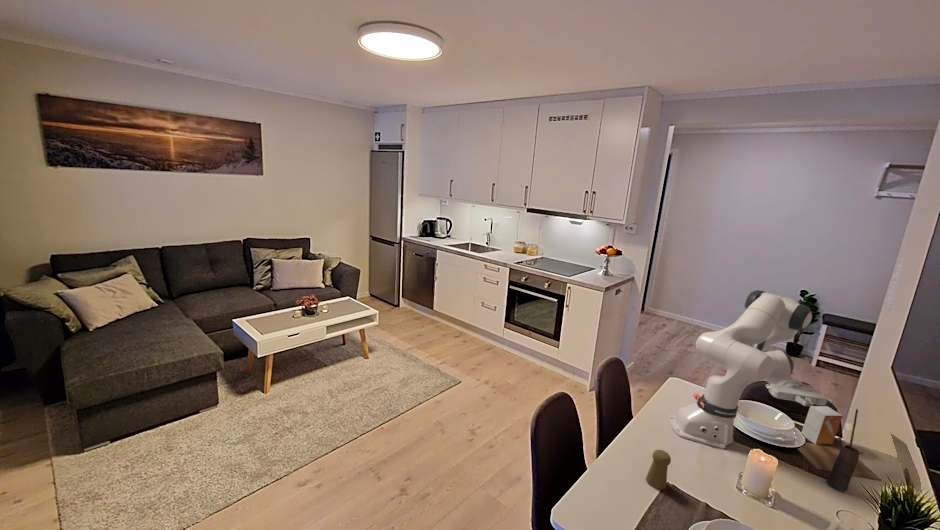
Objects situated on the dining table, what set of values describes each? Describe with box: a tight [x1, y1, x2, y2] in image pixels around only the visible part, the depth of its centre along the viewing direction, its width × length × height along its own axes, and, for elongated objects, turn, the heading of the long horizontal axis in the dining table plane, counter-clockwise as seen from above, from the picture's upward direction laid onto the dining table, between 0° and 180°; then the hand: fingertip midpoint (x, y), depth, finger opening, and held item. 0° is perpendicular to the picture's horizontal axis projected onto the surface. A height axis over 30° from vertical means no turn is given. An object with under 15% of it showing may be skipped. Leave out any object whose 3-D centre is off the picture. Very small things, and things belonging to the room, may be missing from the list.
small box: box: [800, 405, 844, 445], centre depth 156 cm, size 8×6×13 cm
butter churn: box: [826, 408, 864, 493], centre depth 129 cm, size 9×10×28 cm
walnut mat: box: [797, 442, 882, 482], centre depth 146 cm, size 20×16×1 cm
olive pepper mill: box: [645, 449, 672, 491], centre depth 126 cm, size 6×6×11 cm
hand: (808, 404), depth 164 cm, fingers closed
